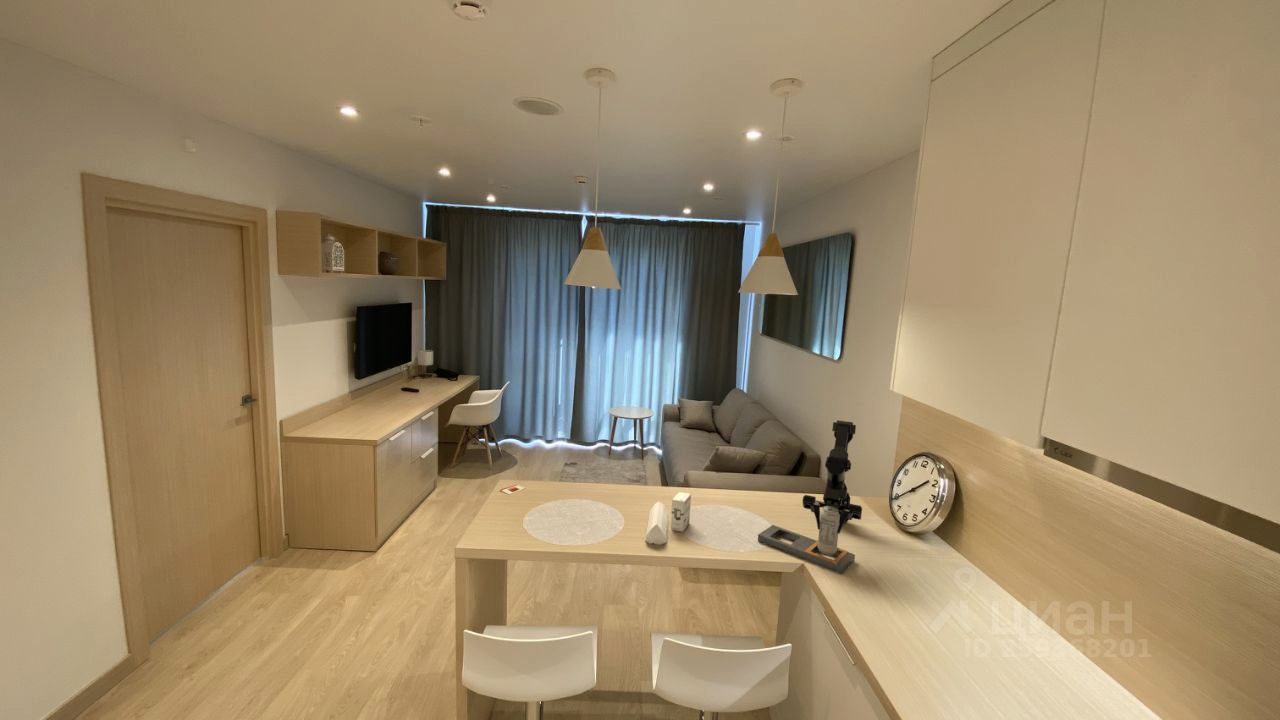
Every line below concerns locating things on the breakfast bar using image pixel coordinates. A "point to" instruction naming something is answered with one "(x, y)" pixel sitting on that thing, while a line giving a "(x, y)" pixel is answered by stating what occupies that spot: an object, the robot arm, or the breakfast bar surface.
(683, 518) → the ink box
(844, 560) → the grey flat block
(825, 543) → the energy drink can
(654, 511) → the pointed wooden block
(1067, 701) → the breakfast bar surface
